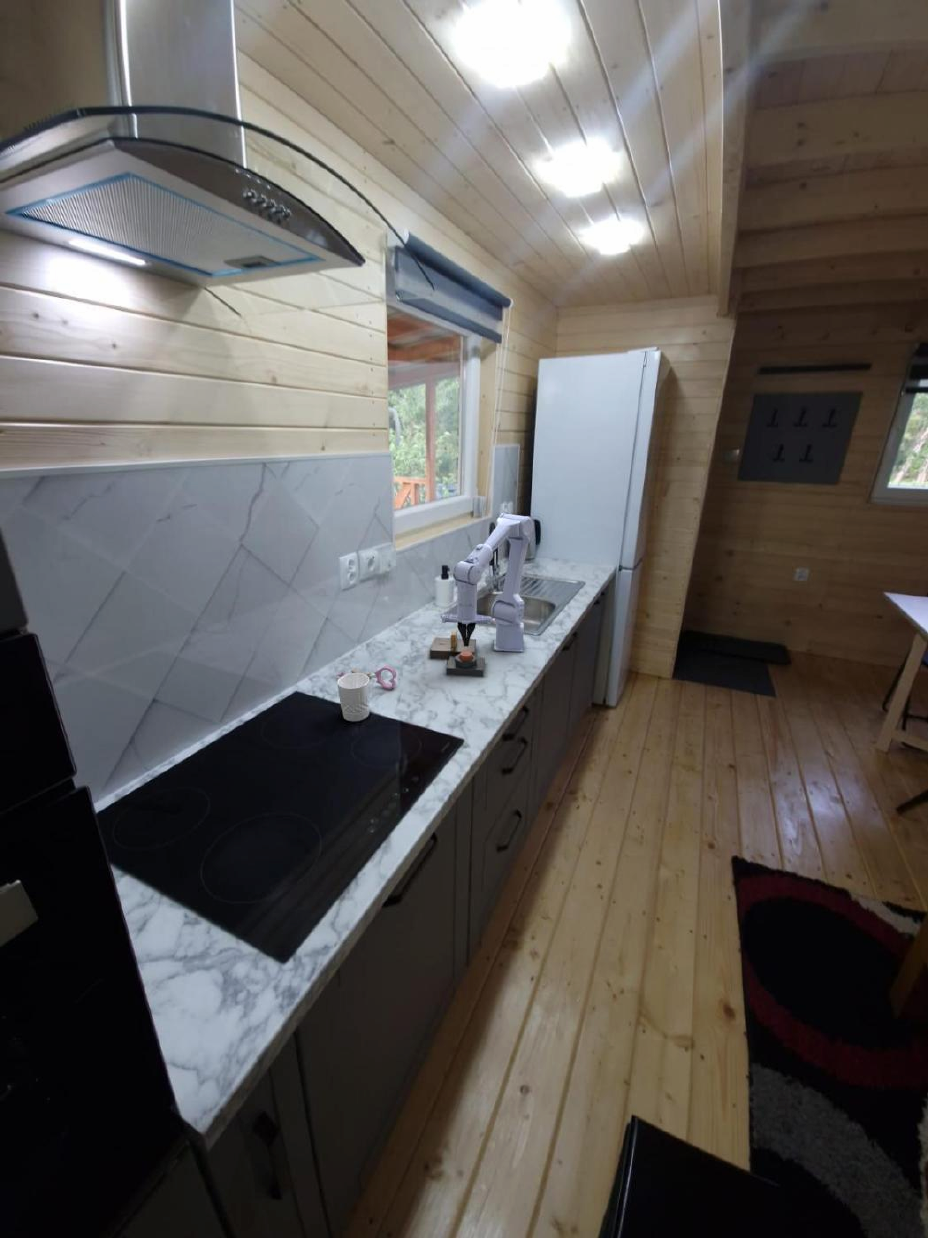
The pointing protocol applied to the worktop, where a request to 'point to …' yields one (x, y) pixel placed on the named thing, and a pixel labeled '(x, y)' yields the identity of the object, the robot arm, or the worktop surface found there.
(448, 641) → the plate
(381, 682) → the decorative key
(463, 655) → the bell button
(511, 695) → the worktop surface
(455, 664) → the doorbell
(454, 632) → the lock knob
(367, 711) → the white cup
